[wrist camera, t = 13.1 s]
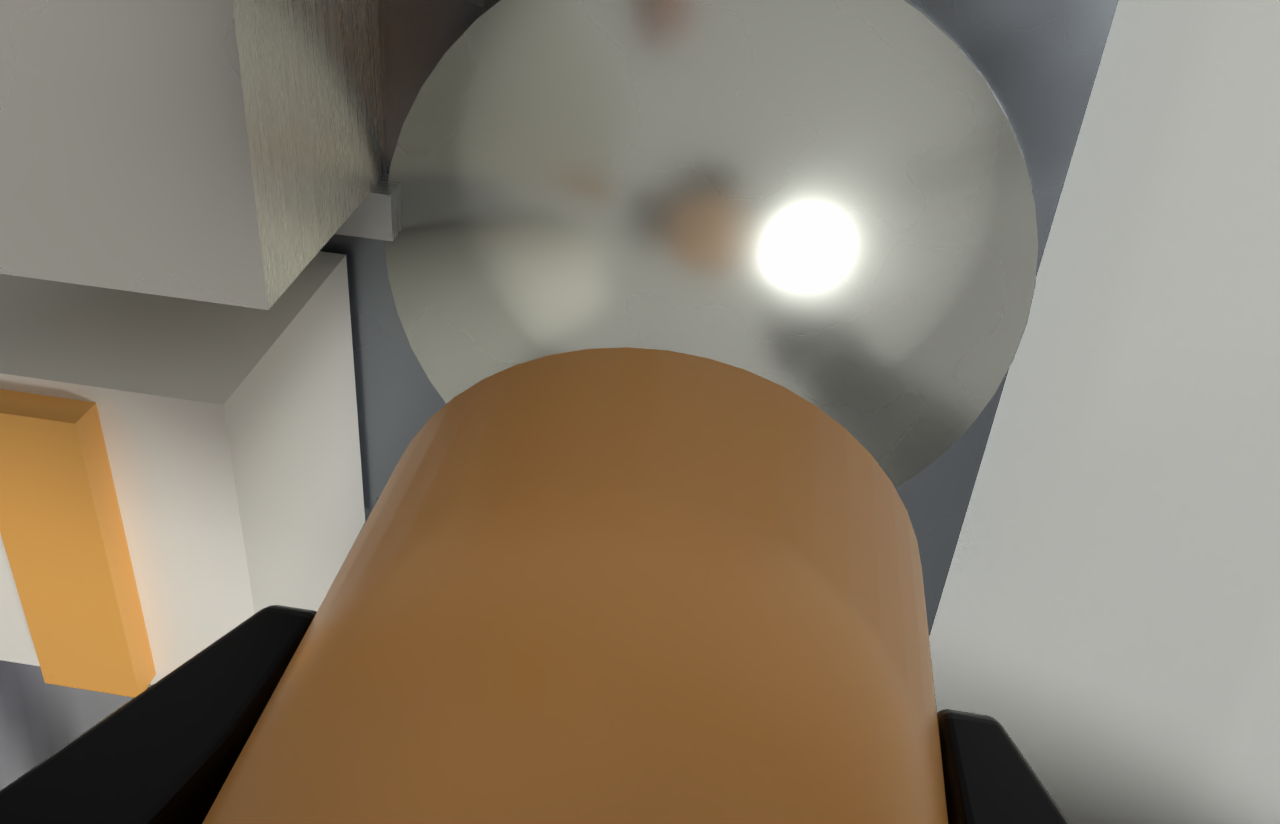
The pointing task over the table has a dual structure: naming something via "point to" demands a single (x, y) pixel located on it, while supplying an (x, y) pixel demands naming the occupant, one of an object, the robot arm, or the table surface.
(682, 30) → the panel
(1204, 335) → the table surface
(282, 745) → the cap
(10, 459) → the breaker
